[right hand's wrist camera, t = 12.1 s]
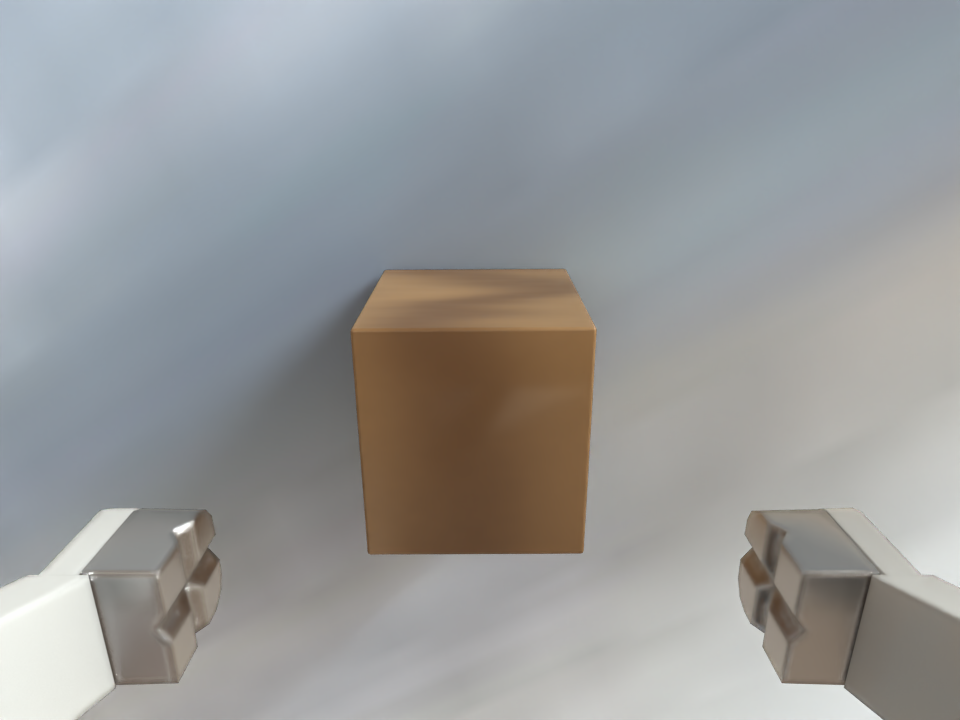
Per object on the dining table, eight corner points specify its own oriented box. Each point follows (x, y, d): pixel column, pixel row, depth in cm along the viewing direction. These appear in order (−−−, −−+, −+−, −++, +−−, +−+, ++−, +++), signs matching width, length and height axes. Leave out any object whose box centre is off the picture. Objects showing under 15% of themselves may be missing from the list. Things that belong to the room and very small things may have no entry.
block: (566, 268, 16) (597, 327, 12) (559, 447, 18) (584, 554, 13) (383, 269, 16) (349, 329, 12) (394, 448, 18) (367, 556, 13)
